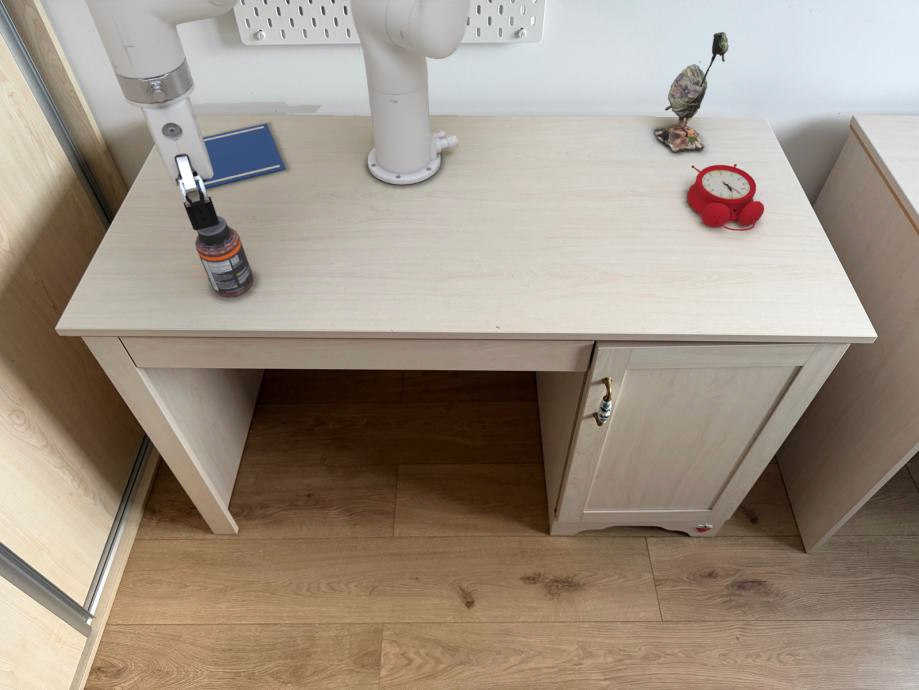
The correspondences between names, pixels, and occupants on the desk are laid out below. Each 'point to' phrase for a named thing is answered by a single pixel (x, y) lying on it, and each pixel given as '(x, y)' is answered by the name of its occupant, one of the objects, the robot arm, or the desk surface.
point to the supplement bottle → (224, 259)
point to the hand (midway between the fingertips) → (200, 203)
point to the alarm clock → (725, 197)
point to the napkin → (241, 155)
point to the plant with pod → (689, 100)
